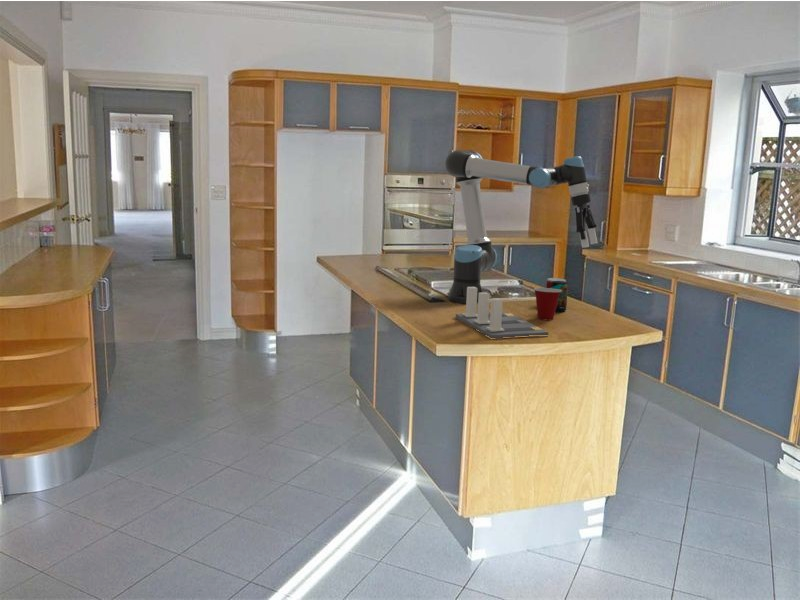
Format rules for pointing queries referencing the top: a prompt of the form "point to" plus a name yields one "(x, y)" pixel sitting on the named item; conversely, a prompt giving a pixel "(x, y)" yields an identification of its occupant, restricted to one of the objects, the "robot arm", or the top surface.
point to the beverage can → (561, 295)
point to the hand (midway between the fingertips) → (590, 245)
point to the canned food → (550, 280)
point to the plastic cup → (546, 302)
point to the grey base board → (505, 326)
